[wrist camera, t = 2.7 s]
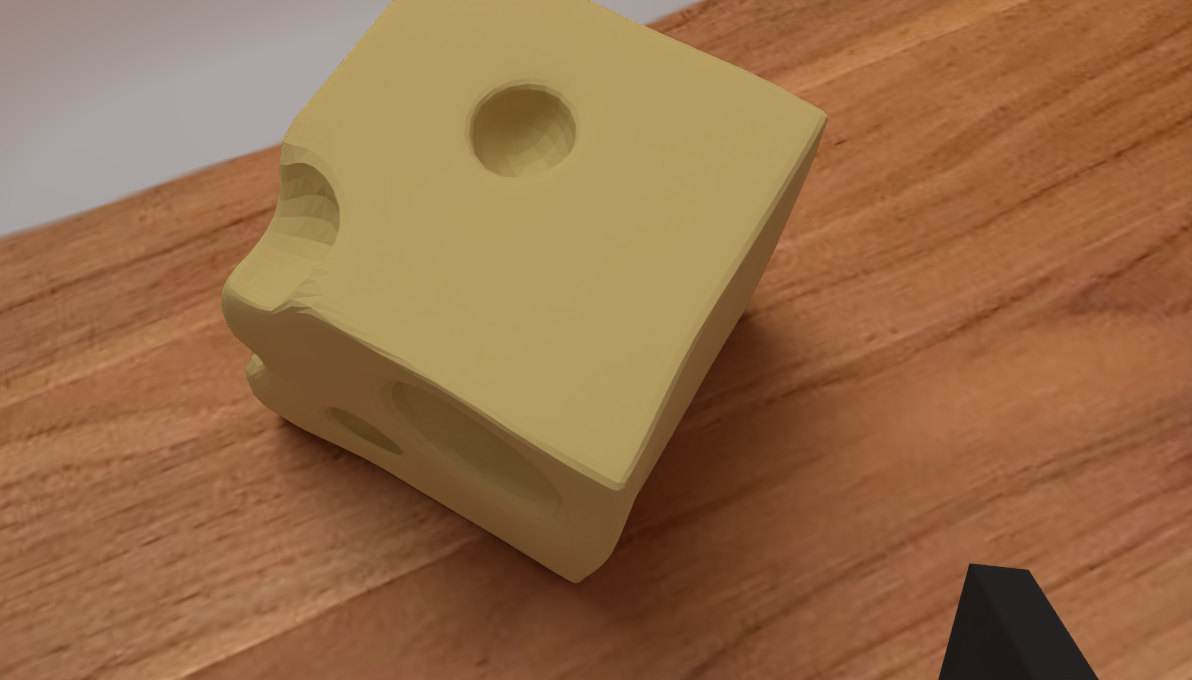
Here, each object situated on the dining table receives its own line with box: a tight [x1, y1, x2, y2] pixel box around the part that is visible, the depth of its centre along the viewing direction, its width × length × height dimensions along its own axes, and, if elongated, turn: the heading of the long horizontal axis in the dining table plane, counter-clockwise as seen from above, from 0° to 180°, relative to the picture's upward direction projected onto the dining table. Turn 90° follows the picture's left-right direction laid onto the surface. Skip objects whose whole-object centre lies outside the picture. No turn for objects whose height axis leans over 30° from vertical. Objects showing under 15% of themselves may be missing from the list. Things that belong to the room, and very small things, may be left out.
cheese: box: [221, 0, 827, 583], centre depth 27 cm, size 10×11×10 cm
